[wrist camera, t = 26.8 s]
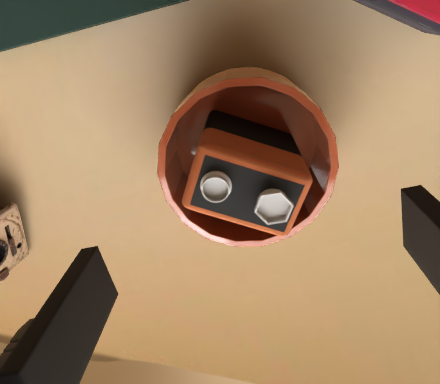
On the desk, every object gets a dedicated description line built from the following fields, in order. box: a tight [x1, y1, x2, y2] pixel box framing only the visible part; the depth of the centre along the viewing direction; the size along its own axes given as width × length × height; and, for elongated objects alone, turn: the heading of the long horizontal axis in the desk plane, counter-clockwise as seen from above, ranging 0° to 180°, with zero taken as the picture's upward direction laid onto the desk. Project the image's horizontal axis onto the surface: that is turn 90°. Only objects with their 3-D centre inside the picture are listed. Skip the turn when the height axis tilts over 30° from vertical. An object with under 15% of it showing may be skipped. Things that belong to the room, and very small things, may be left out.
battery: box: [182, 110, 312, 236], centre depth 25 cm, size 4×7×10 cm, turn 73°
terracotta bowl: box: [157, 67, 339, 247], centre depth 27 cm, size 12×12×6 cm
